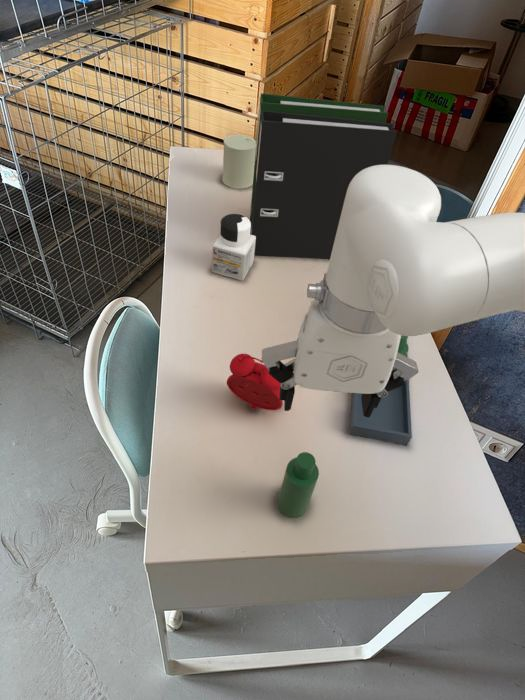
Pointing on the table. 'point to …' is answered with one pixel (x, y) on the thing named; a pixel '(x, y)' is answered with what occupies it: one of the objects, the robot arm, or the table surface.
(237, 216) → the container
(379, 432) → the tray
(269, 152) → the binder
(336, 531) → the table surface
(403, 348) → the bottle
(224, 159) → the can
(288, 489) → the loose bottle
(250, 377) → the alarm clock
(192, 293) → the table surface
